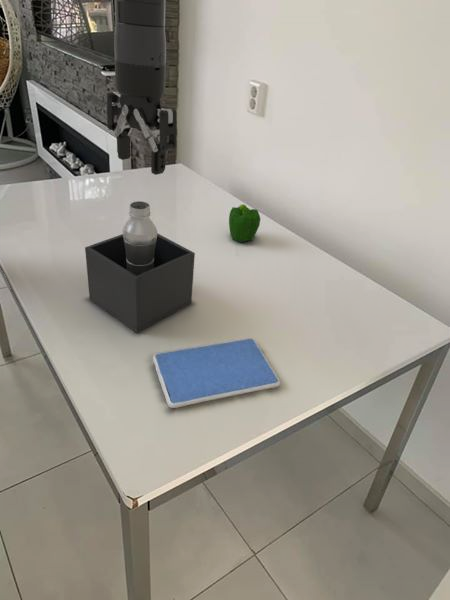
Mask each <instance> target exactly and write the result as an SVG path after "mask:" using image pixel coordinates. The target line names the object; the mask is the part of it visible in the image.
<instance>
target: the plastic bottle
mask: <svg viewBox="0 0 450 600" xmlns="http://www.w3.org/2000/svg"><path fill="white" fill-rule="evenodd" d="M128 215H129V218H128V220H126V222H125V224H124V226H123V228H122V234H123V238H124V244H125V249H126V261H127V266H126V270H128V271H129V272H131V273H132V274H134V275H136V276H138V275H140V274H142V273H144V272H147V271H149V270H151V269H154V252H155V245H156V240H157V233H158V228H157V226H156V224H155V223H154V222H153V220H152V219H151V218H150V216H151V205H150V203H148V202H146V201H132V202H130V204H129V212H128Z"/></svg>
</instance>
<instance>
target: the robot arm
mask: <svg viewBox="0 0 450 600" xmlns="http://www.w3.org/2000/svg"><path fill="white" fill-rule="evenodd" d="M114 19H115V21H114V37H113V49H114V53H113V54H114V82H115V83H114V84H115V85H114V86H115V89H116V91H108V92H107V94H106V126H107V129H108V130H109V131H113V134H114V136H115V137H116V152H117V158H118V159H120V160H122V161H124V160H128V159H130V158H131V157H132V155H131V150H132V149H131V136H130V134H131V133H132V131H133V129H136V130H137V131H139V132H141V133H142V134H143V136H144V138H145V139H146V140H148V143H149V145H150V147H151V149H152V151H151V156H150V157H151V161H150V163H151V165H150V166H151V167H150V173H151V174H153V175H154V176H156V175H161V174H163V173H164V172H165V170H166V157H167V151H171V150H176V148H177V110H176V109H175V108H163V106H162V102H161V100H162V97H163V95H164V94H165V93H166V69H167V68H166V67H167V65H166V64H167V62H166V61H167V37H166V0H114ZM115 116H116V121H115ZM154 129H155V130H154ZM157 140H158V141H157Z"/></svg>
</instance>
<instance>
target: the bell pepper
mask: <svg viewBox="0 0 450 600" xmlns="http://www.w3.org/2000/svg"><path fill="white" fill-rule="evenodd" d="M260 215H261V214H260V213H259V210H258V209H255V208H252V209H251V208H249V207H247V205H246V204H240V205H238V207H234V206H233V207H231V209H230V211H229V215H228V216H229V217H228V226H229V234H230V237H231V238H232V240H233V241H235V242H237V243H245V242H246V241H248V242H249V241H252V240H254V238H255V236H256V234H257V231H258V229H259V227H260V224H261V216H260Z"/></svg>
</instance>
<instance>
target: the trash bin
mask: <svg viewBox="0 0 450 600" xmlns="http://www.w3.org/2000/svg"><path fill="white" fill-rule="evenodd" d="M84 251H85V262H86V263H85V264H86V273H87V285H88V295H89V296H88V297H89V300H90V301H91V302H92V303H93V304H95V305H97V306H98V307H99V308H101V309H102V310H103V311H105V312H106V313H107V314H109V315H110V316H111V317H113V318H114V319H116V320H117V321H118V322H120V323H122V325H124V326H125V327H127V328H129V329H130V330H131V331H132V332H134V333H136V334H138V333H141V332H142V331H144V330H146V329H148V328H149V327H151V326H153V325H155V324H157V323H158V322H160V321H162V320H164V319H165V318H167V317H169V316H171V315H173V314H175V313H177V312H179V311H180V310H182V309H183V308H186V307H187V306H189V305H191V304H192V298H193V284H194V283H193V282H194V272H195V271H194V269H195V255H196V254H195V252H194V251H192V250H190V249H188V248H186V247H185V246H182V245H180V244H178V243H177V242H175V241H173V240H172V239H170V238H167V237H166V236H164V235H161V234H160V233H158V232H157V240H156V245H155V252H154V269H151V270H149V271H147V272H144V273H142V274H140V275H138V276H136V275H134V274H132V273H131V272H129V271H128V270H126V266H127V261H126V249H125V244H124V238H123V233H121V234H119V235H116V236H113V237H111V238H108V239H105V240H102V241H98V242H96V243H93V244H90V245H87V246H85V247H84Z"/></svg>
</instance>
